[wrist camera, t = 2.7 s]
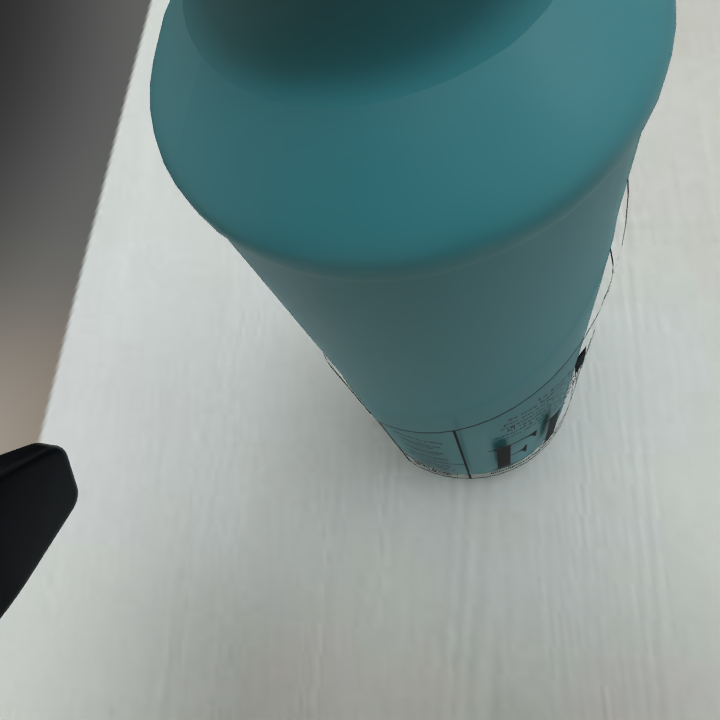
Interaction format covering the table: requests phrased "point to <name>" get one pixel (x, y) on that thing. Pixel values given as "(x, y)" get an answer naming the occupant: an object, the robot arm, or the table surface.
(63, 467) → the robot arm
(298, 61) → the beverage bottle
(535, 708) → the table surface
